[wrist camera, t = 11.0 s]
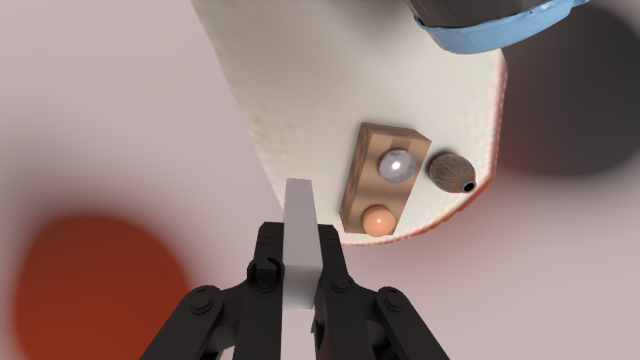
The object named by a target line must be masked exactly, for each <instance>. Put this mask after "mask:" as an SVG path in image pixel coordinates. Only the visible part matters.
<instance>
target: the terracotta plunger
mask: <svg viewBox="0 0 640 360" xmlns="http://www.w3.org/2000/svg"><path fill="white" fill-rule="evenodd" d="M362 224H363V226H364V229H365V231H366V233H367V234H368V235H370V236H373V237H381V236H384V235H386V234H388V233H390V232H391V231H392V230H393V228H394V226H395V218H394V217H393V215H392V213H391V212H390V210H389V209H388V208H387V207H384V206H375V207H372V208H370V209H368V210H367V211H366V212H365V213H364V215H363V217H362Z"/></svg>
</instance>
